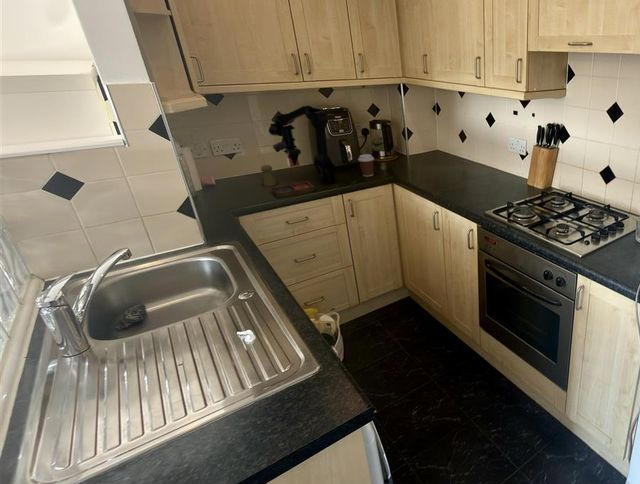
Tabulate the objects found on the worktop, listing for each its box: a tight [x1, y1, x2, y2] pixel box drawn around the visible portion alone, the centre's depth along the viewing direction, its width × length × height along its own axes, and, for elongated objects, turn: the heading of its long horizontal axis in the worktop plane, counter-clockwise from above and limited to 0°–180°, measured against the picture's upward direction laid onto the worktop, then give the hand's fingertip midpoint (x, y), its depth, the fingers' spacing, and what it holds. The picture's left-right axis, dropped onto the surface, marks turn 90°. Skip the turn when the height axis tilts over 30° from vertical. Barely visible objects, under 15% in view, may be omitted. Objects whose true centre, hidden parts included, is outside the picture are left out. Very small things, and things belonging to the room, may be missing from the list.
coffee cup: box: [357, 153, 375, 178], centre depth 244 cm, size 9×9×12 cm
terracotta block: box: [286, 155, 300, 168], centre depth 236 cm, size 5×5×5 cm
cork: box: [260, 164, 277, 187], centre depth 225 cm, size 6×6×11 cm
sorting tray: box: [271, 180, 316, 199], centre depth 217 cm, size 18×12×2 cm, turn 131°
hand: (293, 163), depth 236 cm, fingers closed on terracotta block, 5 cm apart
